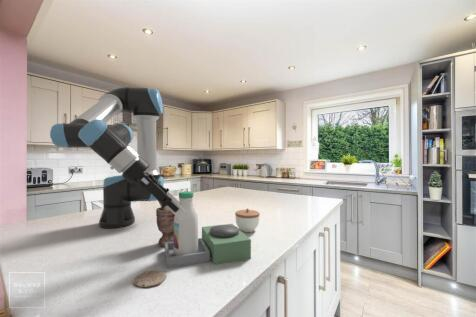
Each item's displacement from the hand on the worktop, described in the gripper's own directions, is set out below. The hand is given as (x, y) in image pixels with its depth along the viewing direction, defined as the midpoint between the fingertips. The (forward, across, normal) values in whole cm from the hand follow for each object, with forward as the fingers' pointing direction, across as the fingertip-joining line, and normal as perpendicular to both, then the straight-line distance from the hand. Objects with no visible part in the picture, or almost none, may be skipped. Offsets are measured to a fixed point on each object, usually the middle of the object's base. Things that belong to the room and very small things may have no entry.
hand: (182, 211), depth 72 cm
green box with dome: (+20, 0, 0) cm, 21 cm away
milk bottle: (+11, 0, -9) cm, 14 cm away
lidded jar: (+32, -17, +11) cm, 38 cm away
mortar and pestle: (+8, -14, -14) cm, 21 cm away
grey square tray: (+11, 0, -9) cm, 15 cm away
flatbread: (+4, +11, -17) cm, 21 cm away
